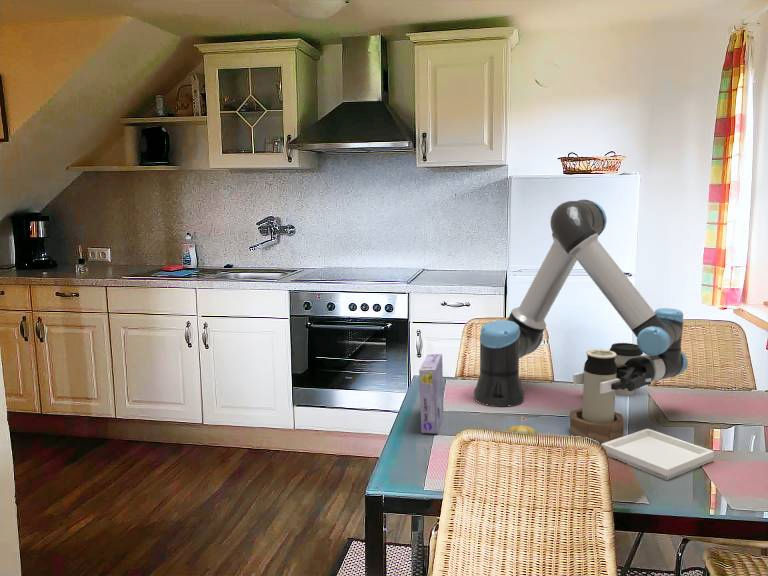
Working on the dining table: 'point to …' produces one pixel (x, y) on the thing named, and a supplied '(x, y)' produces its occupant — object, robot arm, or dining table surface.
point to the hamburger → (522, 428)
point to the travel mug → (598, 386)
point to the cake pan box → (431, 393)
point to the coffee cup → (625, 359)
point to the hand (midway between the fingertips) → (587, 383)
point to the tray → (658, 453)
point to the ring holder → (596, 427)
